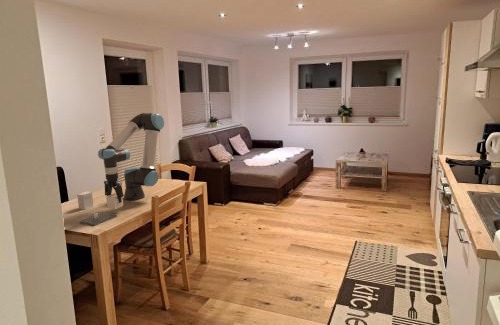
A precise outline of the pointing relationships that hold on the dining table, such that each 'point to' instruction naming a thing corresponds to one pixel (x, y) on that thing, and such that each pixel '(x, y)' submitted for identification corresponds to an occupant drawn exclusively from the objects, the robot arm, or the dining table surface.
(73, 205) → the dining table surface
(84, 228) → the dining table surface
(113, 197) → the white block
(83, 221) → the shaft plate
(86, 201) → the small box
